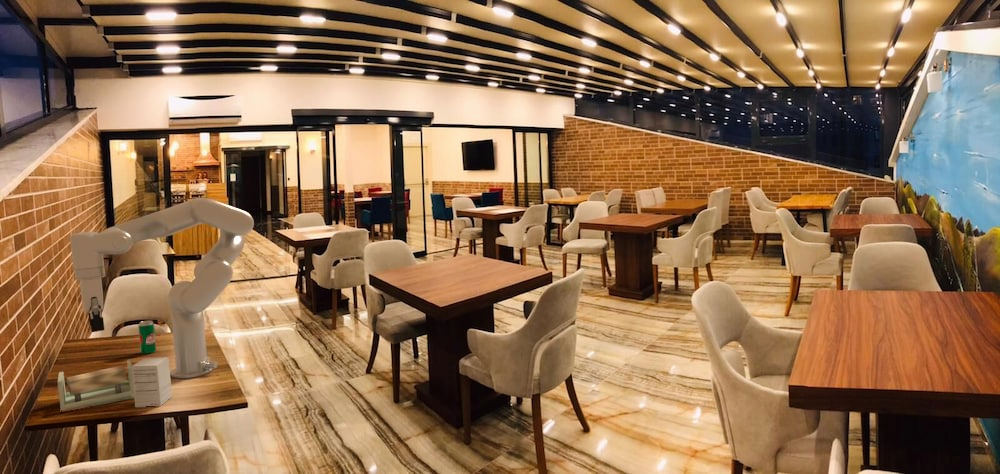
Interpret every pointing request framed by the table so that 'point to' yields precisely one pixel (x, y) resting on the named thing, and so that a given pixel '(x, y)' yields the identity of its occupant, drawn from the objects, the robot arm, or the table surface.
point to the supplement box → (151, 382)
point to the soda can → (147, 337)
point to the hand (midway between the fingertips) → (97, 327)
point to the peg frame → (96, 393)
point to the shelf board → (96, 379)
